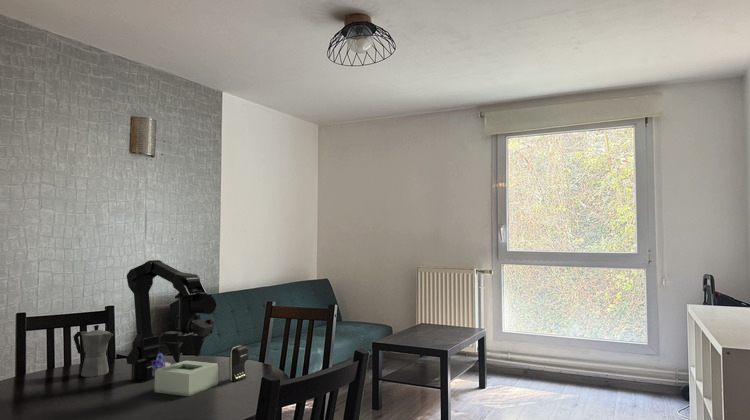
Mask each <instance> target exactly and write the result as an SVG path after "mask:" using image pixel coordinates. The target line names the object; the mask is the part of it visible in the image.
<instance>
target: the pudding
mask: <svg viewBox="0 0 750 420" xmlns="http://www.w3.org/2000/svg"><path fill="white" fill-rule="evenodd" d="M170 365H172V363H171V362H167V361H165V358H164V354H163V353H161V352H158V355H157V359H156V360H153V361H152V371H153V370H154V371H155V370H157V369H160V368H164V367H167V366H170Z"/></svg>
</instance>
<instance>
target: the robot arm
mask: <svg viewBox="0 0 750 420" xmlns="http://www.w3.org/2000/svg"><path fill="white" fill-rule="evenodd" d="M157 276H158V277H160V278H162V279H163V280H165V281H167V282H169V283H171V284H172V286H173V287H172V288H174V289H175V291H177V292H178V293H177V294H176V295H175V296H174V299H175V300H176V299H177V300H178V315H176V316H175V319H176V320H178V327H175V331H172V330H171V331H170V330H169V331H165V332H162V334H161V335H160V337H159V335H155V333H154V332H153V329H152V328H153V327H152V315H151V302H150V291H151V288H152V287H153V285H154V278H156V277H157ZM126 282H127V287H128V288H129V290H130V291H131V292H132V293H133V301H134V302H133V303H134V316H135V328H136V335H135V337H134V339H133V341H132V349H131V351H130V352H129V353H128V355H127V356H126V358H125V359H126V363H127V365H131V374H130V375H131V376H130V377H131V378H128V379H127V381H128V382H135V383H143V382H146V381H149V380H152V379H155V375H153V370H152V361H153V360H156V359H157V355H158V353H160V347H161V346H160V343H163V344H164V345H166V347H167V349H168V350H169V352H170V354H171V356H172V358H173V359H174V362H175V364H176V363H179V362H180V359H181V358H180V356H181V347H182V345H183V344H184V341H183V340H184V338H186V337H189V336H191V341H192V348H193V353H194V356H195V357H199V355H200V353H201V350H202V348H203V347H202V346H203V344H204V342H205V340H206V339H207V338H208V337H210V335H211V334H213V330H215V329H214V328H215V322H214V319H213V318H208V319H206V320H201V316H200V314H202V315H203V314H204V315H211V314H213V313H214V312H215V310H216V308H217V302H216V299H215V298H214V297H213V296H212V293H211V292H207V291H206V288H205V286H204V285H203V282H202V281H201V277H200V275H198V274H196V273H190V272H189V273H188V272H184V271H180V270H178V269H176V268H174V267H173V266H170V265H168V264H167V263H164V262H163V261H162V260H160V259H152V260H151V259H150V260H148V261H145V263H142V264H140V265H138V266H136V267H134V268H131V269H130V270H129V271H128V272H127V274H126Z"/></svg>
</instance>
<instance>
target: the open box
mask: <svg viewBox="0 0 750 420" xmlns="http://www.w3.org/2000/svg"><path fill="white" fill-rule="evenodd" d="M154 376H155V378H154V393H160V394H166V395H167V394H168V395H175V396H184V397H191V396H193V395H196V394H198V393H201V392H203V391H205V390H207V389H208V390H209V389H210V388H212V387H215V386H217V385H218V384H219V379H218V378H219V364H218V363H214V362H204V361H194V360H184V361H179V362H178V363H176V362H175V363H173V364H171V365H170V366H167V367H165V366H164V368H160V369H154Z"/></svg>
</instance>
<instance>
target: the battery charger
mask: <svg viewBox="0 0 750 420" xmlns="http://www.w3.org/2000/svg"><path fill="white" fill-rule="evenodd" d="M247 361H249V349H248V347H247V346H246V345H237V346H233V347H232V348H230V351H229V381H231V382H239V381H241V380H243V379H246V378H247V372H246V370H245V367H246V366H245V363H246V362H247Z"/></svg>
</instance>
